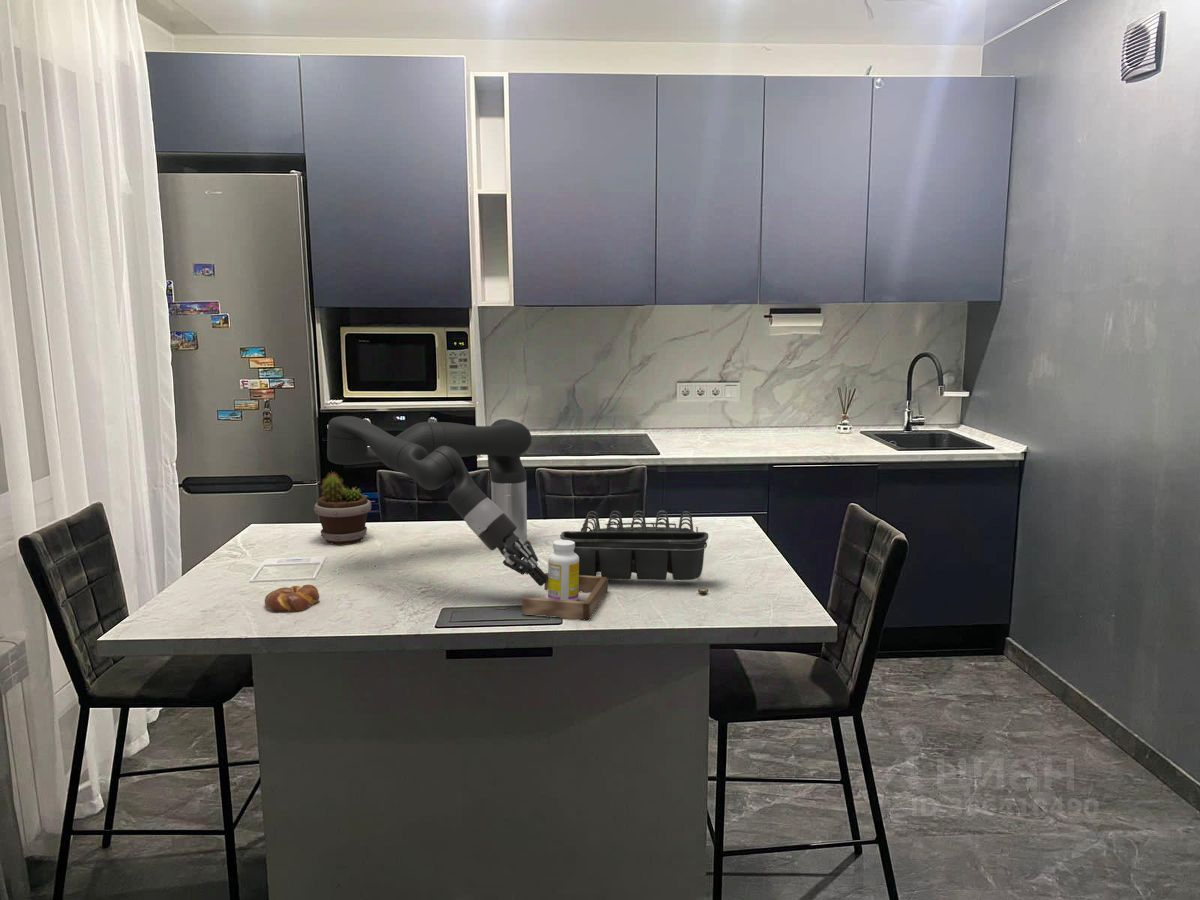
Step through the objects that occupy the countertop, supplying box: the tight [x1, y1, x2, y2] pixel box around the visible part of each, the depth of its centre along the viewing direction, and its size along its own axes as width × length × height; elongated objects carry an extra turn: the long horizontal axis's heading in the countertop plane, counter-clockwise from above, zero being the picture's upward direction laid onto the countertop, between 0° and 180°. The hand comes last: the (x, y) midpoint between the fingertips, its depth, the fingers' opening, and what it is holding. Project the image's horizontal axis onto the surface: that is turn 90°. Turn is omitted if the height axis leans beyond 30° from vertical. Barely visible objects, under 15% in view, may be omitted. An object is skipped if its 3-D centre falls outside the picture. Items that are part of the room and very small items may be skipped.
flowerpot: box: [313, 470, 372, 546], centre depth 239 cm, size 14×15×20 cm
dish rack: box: [559, 510, 709, 581], centre depth 222 cm, size 34×44×12 cm
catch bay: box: [521, 572, 609, 621], centre depth 191 cm, size 14×18×4 cm
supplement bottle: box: [547, 539, 580, 601], centre depth 192 cm, size 7×7×13 cm
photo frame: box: [248, 555, 327, 584], centre depth 214 cm, size 15×1×18 cm
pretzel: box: [264, 584, 320, 613], centre depth 190 cm, size 12×11×4 cm
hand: (544, 582), depth 191 cm, fingers closed
